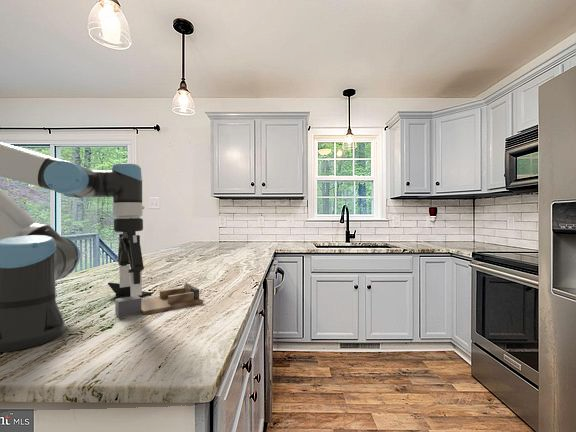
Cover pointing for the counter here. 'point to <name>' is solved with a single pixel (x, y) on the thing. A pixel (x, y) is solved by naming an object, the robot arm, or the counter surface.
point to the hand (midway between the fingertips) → (130, 291)
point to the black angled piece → (125, 290)
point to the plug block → (127, 306)
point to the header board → (171, 300)
